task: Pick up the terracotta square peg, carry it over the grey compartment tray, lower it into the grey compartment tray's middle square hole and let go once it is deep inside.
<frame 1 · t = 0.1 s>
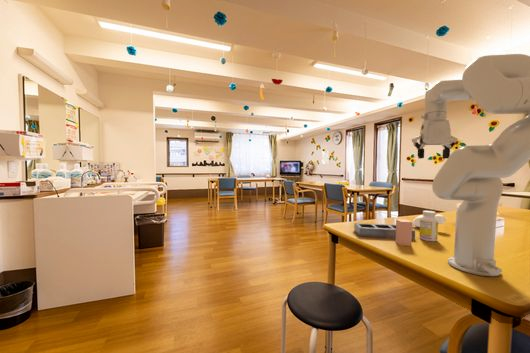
hand: (433, 158, 95), 37 cm above the table, tool pointing down, fingers open, 9 cm apart
grey compartment tray: (382, 234, 108), on the table
peg: (403, 243, 96), on the table
supplement bottle: (428, 239, 102), on the table
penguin: (427, 229, 119), on the table
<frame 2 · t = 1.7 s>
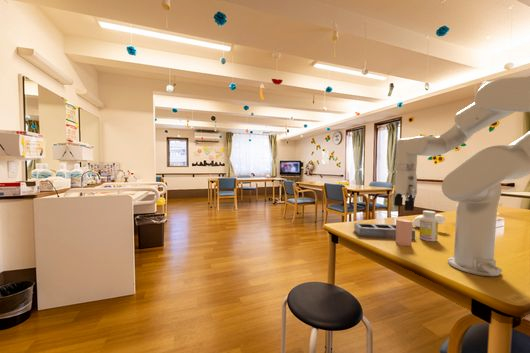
hand: (403, 207, 96), 15 cm above the table, tool pointing down, fingers open, 9 cm apart
nothing on the table moved.
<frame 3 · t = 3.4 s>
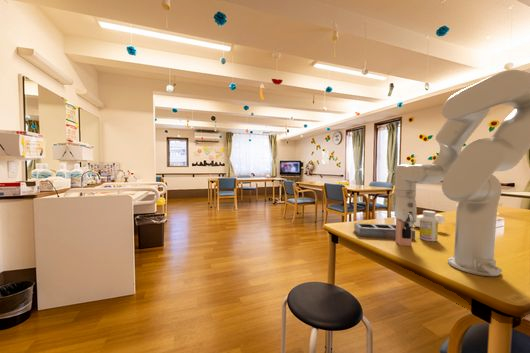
hand: (403, 235, 96), 3 cm above the table, tool pointing down, fingers closed on peg, 4 cm apart
peg: (403, 243, 96), on the table, touching gripper
everything else where it was.
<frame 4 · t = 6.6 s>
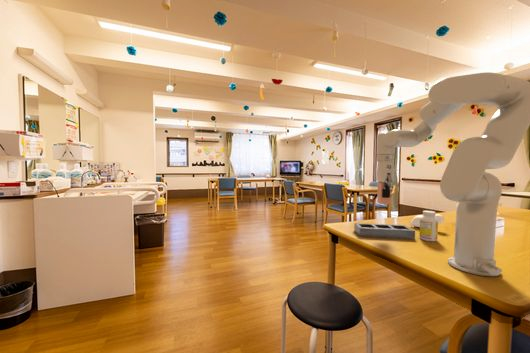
hand: (383, 196, 108), 19 cm above the table, tool pointing down, fingers closed on peg, 4 cm apart
peg: (383, 203, 108), point 15 cm above the table, touching gripper
everything else where it was.
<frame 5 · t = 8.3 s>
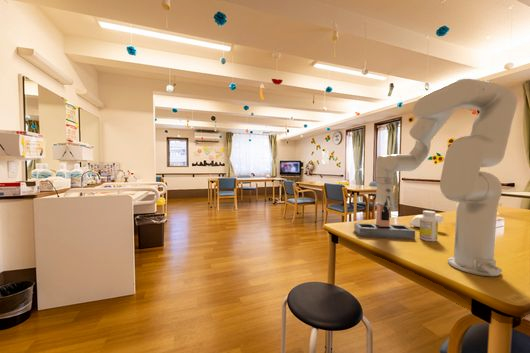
hand: (382, 218, 108), 8 cm above the table, tool pointing down, fingers closed on peg, 4 cm apart
peg: (382, 225, 108), point 5 cm above the table, touching gripper
everything else where it was.
when the fingers open (5 cm above the table, at t = 9.8 s): peg drops 1 cm, resting in grey compartment tray.
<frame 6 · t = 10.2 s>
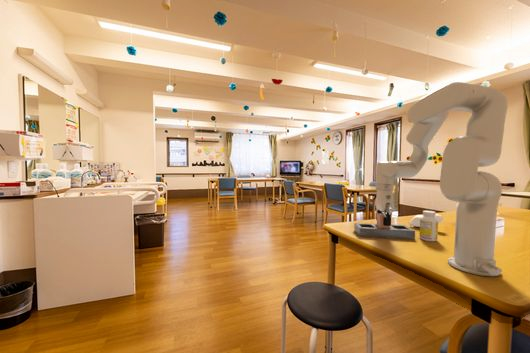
hand: (383, 223, 108), 6 cm above the table, tool pointing down, fingers open, 9 cm apart
peg: (382, 234, 108), resting in grey compartment tray
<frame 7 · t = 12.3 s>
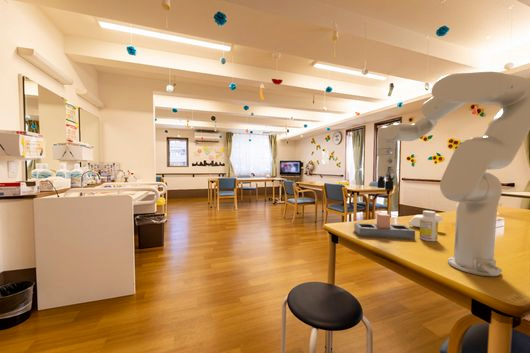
hand: (384, 188, 107), 22 cm above the table, tool pointing down, fingers open, 9 cm apart
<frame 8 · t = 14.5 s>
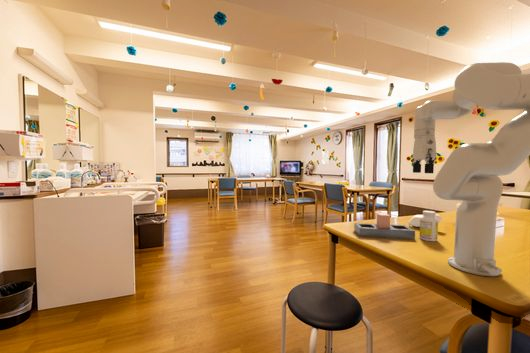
hand: (422, 172, 100), 30 cm above the table, tool pointing down, fingers open, 9 cm apart
at the end: peg 0.1 cm off-centre on the grey compartment tray, point 0.0 cm above the grey compartment tray's base; peg tilted 0°; the gripper is holding nothing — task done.
